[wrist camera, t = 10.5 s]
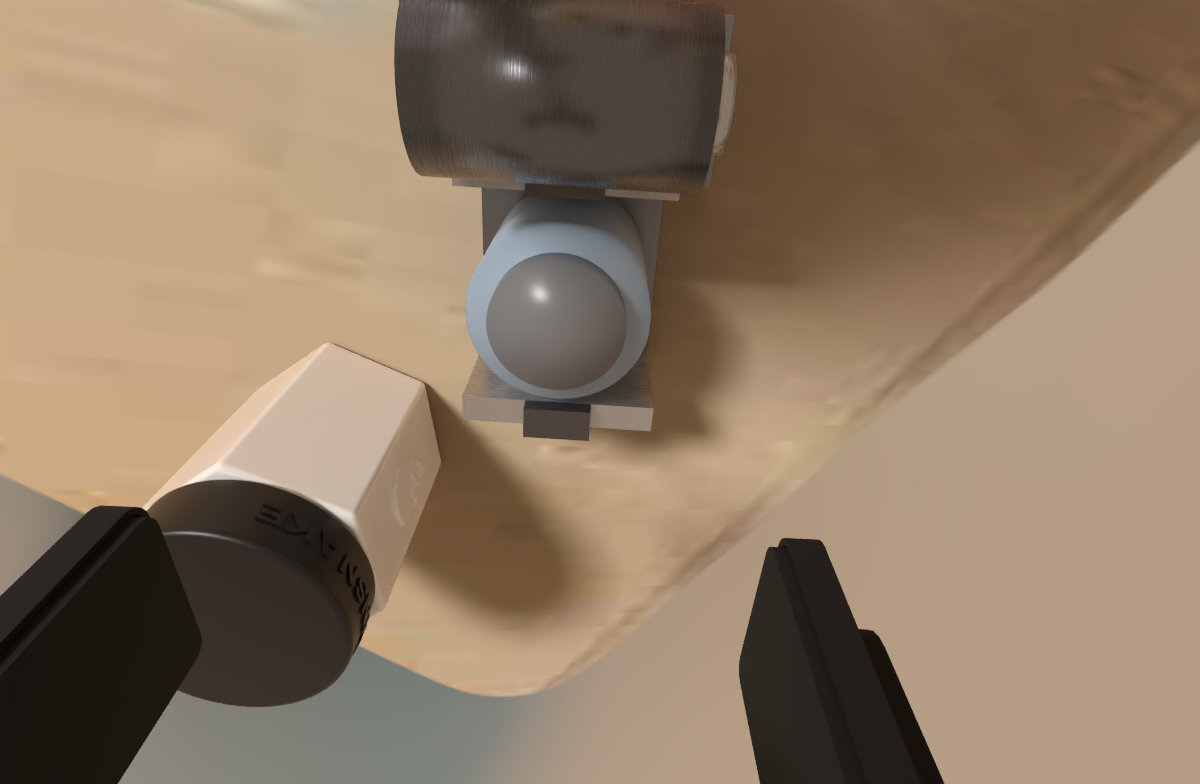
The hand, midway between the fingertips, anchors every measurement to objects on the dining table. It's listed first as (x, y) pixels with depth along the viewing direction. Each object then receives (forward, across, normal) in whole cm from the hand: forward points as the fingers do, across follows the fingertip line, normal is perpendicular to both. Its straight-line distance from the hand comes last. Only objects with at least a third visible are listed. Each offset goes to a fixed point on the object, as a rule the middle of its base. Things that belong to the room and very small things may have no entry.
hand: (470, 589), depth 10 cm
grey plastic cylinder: (+18, -1, +1) cm, 18 cm away
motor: (+19, -1, -1) cm, 19 cm away
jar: (+19, +9, +10) cm, 23 cm away
